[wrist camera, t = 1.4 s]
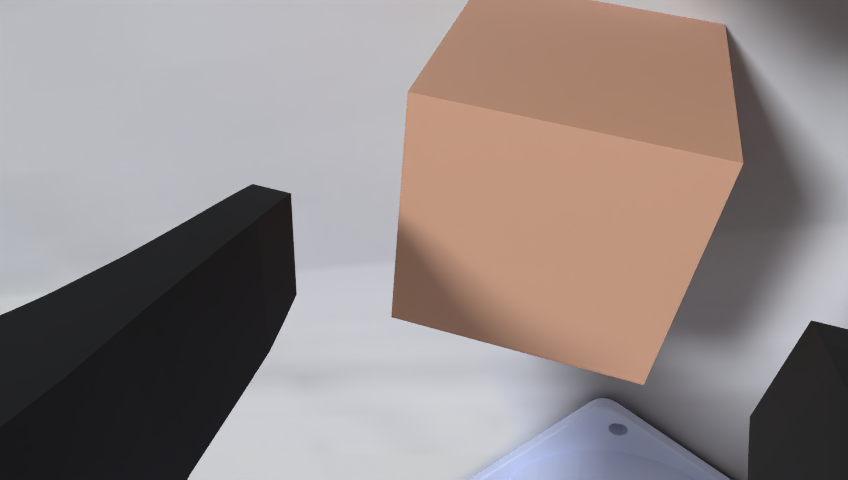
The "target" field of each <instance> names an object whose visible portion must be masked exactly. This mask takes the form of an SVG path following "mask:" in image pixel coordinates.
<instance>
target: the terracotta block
mask: <svg viewBox="0 0 848 480" xmlns="http://www.w3.org/2000/svg"><path fill="white" fill-rule="evenodd" d="M742 166H743V155H742V148H741V140H740V133H739V125H738V118H737V110H736V102H735V95H734V87H733V80H732V72H731V65H730V57H729V50H728V42H727V34H726V27H725V25H724V24H719V23H713V22H708V21H702V20H697V19H691V18H686V17H680V16H675V15H669V14H664V13H658V12H653V11H647V10H642V9H636V8H631V7H625V6H620V5H614V4H609V3H603V2H598V1H592V0H469V2H468V3H467V5H466V6H465V7H464V9H463V10H462V12H461V13H460V15H459V16H458V18H457V19H456V21H455V22H454V24H453V25H452V27H451V28H450V30H449V31H448V33H447V34H446V36H445V37H444V39H443V40H442V42H441V43H440V45H439V46H438V48H437V49H436V51H435V52H434V54H433V55H432V57H431V58H430V60H429V61H428V63H427V64H426V65H425V67H424V68H423V70H422V71H421V73H420V74H419V76H418V77H417V79H416V80H415V82H414V83H413V85H412V86H411V88H410V89H409V91H408V96H407V110H406V123H405V137H404V151H403V165H402V179H401V192H400V206H399V220H398V234H397V247H396V261H395V275H394V289H393V303H392V316H391V317H393V318H397V319H401V320H404V321H408V322H412V323H416V324H419V325H423V326H427V327H430V328H434V329H438V330H441V331H445V332H449V333H453V334H456V335H460V336H464V337H467V338H471V339H475V340H478V341H482V342H486V343H490V344H493V345H497V346H501V347H504V348H508V349H512V350H516V351H519V352H523V353H527V354H530V355H534V356H538V357H541V358H545V359H549V360H553V361H556V362H560V363H564V364H567V365H571V366H575V367H578V368H582V369H586V370H590V371H593V372H597V373H601V374H604V375H608V376H612V377H616V378H619V379H623V380H627V381H630V382H634V383H638V384H641V385H644V383H645V381H646V379H647V377H648V375H649V372H650V370H651V368H652V366H653V363H654V361H655V359H656V357H657V355H658V352H659V350H660V348H661V346H662V343H663V341H664V339H665V337H666V335H667V332H668V330H669V328H670V326H671V323H672V321H673V319H674V317H675V315H676V312H677V310H678V308H679V306H680V303H681V301H682V299H683V297H684V295H685V292H686V290H687V288H688V286H689V283H690V281H691V279H692V277H693V275H694V272H695V270H696V268H697V266H698V263H699V261H700V259H701V257H702V255H703V252H704V250H705V248H706V246H707V243H708V241H709V239H710V237H711V235H712V232H713V230H714V228H715V226H716V223H717V221H718V219H719V217H720V215H721V212H722V210H723V208H724V206H725V203H726V201H727V199H728V197H729V195H730V192H731V190H732V188H733V186H734V183H735V181H736V179H737V177H738V175H739V172H740V170H741V168H742Z"/></svg>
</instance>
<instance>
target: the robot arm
mask: <svg viewBox="0 0 848 480" xmlns="http://www.w3.org/2000/svg"><path fill="white" fill-rule="evenodd" d="M295 296H296V277H295V260H294V242H293V224H292V206H291V193H287V192H283V191H279V190H274V189H270V188H266V187H262V186H258V185H254V184H252V185H250V186H248V187H246V188H244V189H242V190H240V191H239V192H237V193H235V194H233V195H231V196H230V197H228V198H226V199H224V200H222V201H221V202H219V203H217V204H215V205H214V206H212V207H210V208H208V209H207V210H205V211H203V212H202V213H200V214H198V215H196V216H195V217H193V218H191V219H189V220H188V221H186V222H184V223H182V224H181V225H179V226H177V227H175V228H174V229H172V230H170V231H168V232H166V233H165V234H163V235H161V236H159V237H157V238H156V239H154V240H152V241H150V242H148V243H147V244H145V245H143V246H141V247H139V248H138V249H136V250H134V251H132V252H130V253H129V254H127V255H125V256H123V257H121V258H119V259H117V260H115V261H113V262H111V263H109V264H107V265H105V266H103V267H101V268H99V269H97V270H95V271H93V272H91V273H89V274H87V275H85V276H83V277H81V278H79V279H77V280H76V281H74V282H72V283H70V284H68V285H66V286H64V287H62V288H60V289H58V290H56V291H54V292H52V293H49V294H47V295H45V296H43V297H41V298H39V299H36V300H34V301H32V302H30V303H28V304H25V305H23V306H21V307H19V308H16V309H14V310H12V311H9V312H7V313H5V314H2V315H0V480H187V479H188V477H189V475H190V474H191V472H192V471H193V469H194V467H195V466H196V464H197V463H198V461H199V460H200V458H201V457H202V455H203V454H204V452H205V451H206V449H207V447H208V446H209V444H210V443H211V441H212V440H213V438H214V437H215V435H216V434H217V432H218V431H219V429H220V428H221V426H222V424H223V423H224V421H225V420H226V418H227V417H228V415H229V414H230V412H231V411H232V409H233V408H234V406H235V404H236V403H237V401H238V400H239V398H240V397H241V395H242V394H243V392H244V391H245V389H246V387H247V386H248V384H249V383H250V381H251V380H252V378H253V377H254V375H255V373H256V372H257V370H258V369H259V367H260V366H261V364H262V362H263V361H264V359H265V358H266V356H267V354H268V353H269V351H270V349H271V347H272V345H273V343H274V341H275V339H276V337H277V335H278V333H279V331H280V329H281V327H282V325H283V323H284V320H285V318H286V316H287V314H288V312H289V310H290V307H291V305H292V303H293V301H294V299H295ZM616 423H619V424H616ZM469 480H731V479H729V478H728V477H726V476H725V475H723V474H722V473H720V472H719V471H717V470H716V469H714V468H713V467H711V466H710V465H708V464H707V463H705V462H704V461H703V460H701V459H700V458H698V457H697V456H695V455H694V454H692V453H691V452H689V451H688V450H686V449H685V448H683V447H682V446H680V445H679V444H677V443H676V442H674V441H673V440H672V439H670V438H669V437H667V436H666V435H664V434H663V433H661V432H660V431H658V430H657V429H655V428H654V427H652V426H651V425H649V424H648V423H646V422H645V421H643V420H642V419H640V418H639V417H638V416H636V415H635V414H633V413H632V412H630V411H629V410H627V409H626V408H624V407H623V406H621V405H620V404H618V403H617V402H615V401H613V400H611V399H606V398H598V399H595V400H592V401H590V402H589V403H587V404H586V405H584V406H582V407H581V408H579V409H578V410H576V411H575V412H573V413H572V414H570V415H568V416H567V417H565V418H564V419H562V420H561V421H559V422H558V423H556V424H554V425H553V426H551V427H550V428H548V429H547V430H545V431H544V432H542V433H540V434H539V435H537V436H536V437H534V438H533V439H531V440H529V441H528V442H526V443H525V444H523V445H522V446H520V447H519V448H517V449H515V450H514V451H512V452H511V453H509V454H508V455H506V456H505V457H503V458H501V459H500V460H498V461H497V462H495V463H494V464H492V465H490V466H489V467H487V468H486V469H484V470H483V471H481V472H480V473H478V474H476V475H475V476H473V477H472V478H470V479H469ZM748 480H848V329H844V328H840V327H836V326H832V325H828V324H823V323H819V322H815V321H811V322H810V323H809V325H808V326H807V328H806V330H805V331H804V333H803V334H802V336H801V337H800V339H799V341H798V342H797V344H796V345H795V347H794V348H793V350H792V352H791V353H790V355H789V356H788V358H787V359H786V361H785V363H784V364H783V366H782V367H781V369H780V370H779V372H778V374H777V375H776V377H775V378H774V380H773V381H772V383H771V385H770V386H769V388H768V389H767V391H766V392H765V394H764V396H763V397H762V399H761V400H760V402H759V403H758V405H757V407H756V408H755V410H754V411H753V413H752V414H751V416H750V430H749V454H748Z"/></svg>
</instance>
